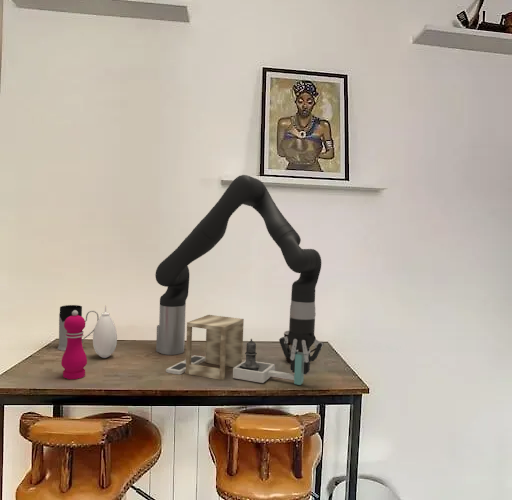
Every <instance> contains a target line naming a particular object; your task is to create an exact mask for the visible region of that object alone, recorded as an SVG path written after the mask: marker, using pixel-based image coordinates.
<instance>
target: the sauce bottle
mask: <svg viewBox="0 0 512 500" xmlns="http://www.w3.org/2000/svg"><path fill="white" fill-rule="evenodd" d="M100 315H101V316H99V319H98V321H97V320H96V323H95V325H94V328H95V329H94V328H93V330H94V331H93V332H92V346H93V349H94V351H95V353H96V355H97V356H99V357H100V358H102V359H107V358H109V357H110V356H111V355H112V354H114V352H115V350H116V347H117V344H118V333H117V328H116V325H115V323H114V320H113V318H112V317H111V315H110V313H109V312H107V306H106V305H105V306H104V312H102V313H101V314H100Z"/></svg>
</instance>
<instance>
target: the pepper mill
mask: <svg viewBox="0 0 512 500" xmlns="http://www.w3.org/2000/svg"><path fill="white" fill-rule="evenodd" d="M85 321H86V319H85V318H84V317H83V316H82V317H81V316H79V315H78V311H76V310H74V311H73V312H72V316H69V317H68V318H66V320H65V322H64V328H65V329H66V330H67V332H66V337H67V347H66V350H65V351H63V352H64V353H63V355H62V357H61V362H60V363H61V366H62V368H63V369H64V370H62V377H64V378H63V379H65V378H67V379H66V380H79V379H82V378H84V377H86V369H85V367H86V365H87V364H88V358H87V357H88V356H87V355H86V351H85V349H84V346H82V345H83V343H82V339H83V338H84V337H85V336H84V331H83V330H84V329H85V328H86V322H85ZM78 378H79V379H78Z"/></svg>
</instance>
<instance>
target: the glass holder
mask: <svg viewBox="0 0 512 500" xmlns="http://www.w3.org/2000/svg"><path fill="white" fill-rule="evenodd" d="M74 310H76V311H78V315H79V316H81V317H83V306H81V305H78V304H68V305H67V304H66V305H62V306H60V307H59V314H58V317H59V318H58V321H59V322H58V346H57V350H58V351H62V352H65V350H66V347H67V337H66V332H67V330H66V329H65V328H64V322H65V320H66V318H68V317H69V316H72V312H73V311H74ZM89 313H95V314H96V316H97V317H96V319H97V320H96V322H97V321H98V319H99V318H100V316H99V314H98V312H97V311H95V310H89V311H88V312H87V313H86V315H85V323H86V322H87V321H88V315H89ZM94 329H95V327H94V328H93V330H92V331H91V332H89V333H88V334H87V335H86V336H84V337H82V346H83V342H84V340H85V339H86V338H87V337H89V336H90V335H91V334H93V333H94ZM83 347H84V346H83Z"/></svg>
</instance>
